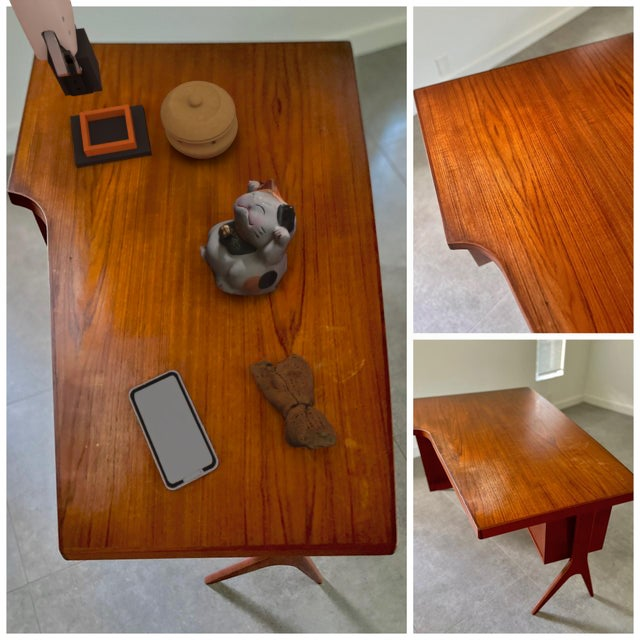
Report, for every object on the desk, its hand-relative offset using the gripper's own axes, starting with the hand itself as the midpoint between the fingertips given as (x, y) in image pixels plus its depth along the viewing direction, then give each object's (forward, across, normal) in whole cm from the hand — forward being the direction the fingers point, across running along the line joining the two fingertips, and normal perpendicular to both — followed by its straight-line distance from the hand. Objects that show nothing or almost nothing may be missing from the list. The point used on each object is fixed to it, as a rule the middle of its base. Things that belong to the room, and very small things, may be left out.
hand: (80, 76), depth 74 cm
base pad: (+15, -3, 0) cm, 16 cm away
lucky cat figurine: (+16, +24, +18) cm, 34 cm away
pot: (+16, +1, +15) cm, 21 cm away
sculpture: (+16, +49, +18) cm, 55 cm away
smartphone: (+15, +48, +3) cm, 50 cm away
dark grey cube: (+1, 0, 0) cm, 1 cm away
